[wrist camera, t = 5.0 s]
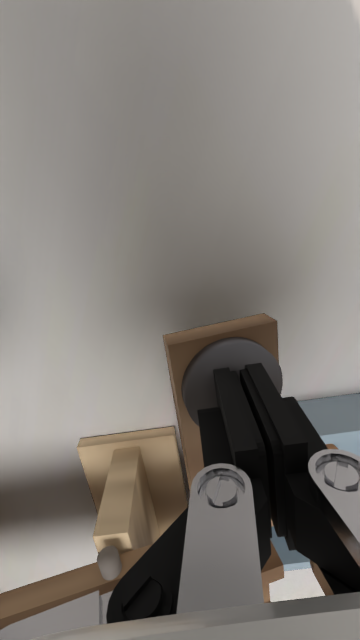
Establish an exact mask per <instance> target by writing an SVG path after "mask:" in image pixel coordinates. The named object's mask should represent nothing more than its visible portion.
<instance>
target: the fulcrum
mask: <svg viewBox="0 0 360 640" xmlns="http://www.w3.org/2000/svg"><path fill="white" fill-rule="evenodd" d="M77 450H78V453H79V456H80V460H81V463H82V466H83V469H84V472H85V475H86V479H87V482H88V485H89V488H90V491H91V494H92V498H93V501H94V504H95V507H96V510H97V514H98V517H97V521H96V525H95V530H94V534H93V539H94V542H95V545H96V548H97V551H98V554H99V553H100V551H101V550H102V549H103V548H105V547H107V546H115V547H116V548H117V550H118V553H119V555H120V554H123V553H126V552H129V551H132V550H135V549H138V548H141V547H144V546H147V545H150V544H153V543H155V542H156V540H157V539H158V538H159V537H160V536H161V535H162V534H163V533H164V532H165V531H166V530H167V529H168V528H169V527H170V525H171V524H172V523H173V522H174V521H175V520H176V519H177V518H178V517H179V516H180V515H181V514H182V513H183V512H184V510H185V509H186V508H187V507H188V501H187V496H186V490H185V485H184V479H183V473H182V468H181V462H180V457H179V451H178V446H177V440H176V434H175V429H174V426H173V427H165V428H158V429H150V430H143V431H135V432H128V433H120V434H112V435H105V436H97V437H90V438H82V439H80V441H79V444H78V446H77Z"/></svg>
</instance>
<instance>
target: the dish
mask: <svg viewBox="0 0 360 640" xmlns="http://www.w3.org/2000/svg"><path fill="white" fill-rule="evenodd" d="M297 402H298V404H299V405H300V407H301V408H302V410H303V411H304V413H305V414H306V416H307V417H308V419H309V420H310V422H311V423H312V425H313V426H314V428H315V429H316V431H317V433H318V434H319V436H320V437H321V439H322V440H323V442H324V443H325V444H333V445H335V446H336V447H337V448H338V449H339V450H344V451H348V452H351V453H353V454H355V455H357V456H359V457H360V393H356V394H348V395H341V396H334V397H326V398H319V399H311V400H304V401H297ZM270 540H271V542H272V544H273V546H274V547H275V549H276V551H277V553H278V555H279V557H280V559H281V561H282V563H283V565H284V571H290V570H298V569H306V568H311V565H310V559H308V558H306V557H305V556H303V555H302V554H300V553H299V552H297V551H296V550H292V551H289V549H288V546H287V543H286V540H285V537H277V535H276V532H275V529H274V526H272V538H270Z"/></svg>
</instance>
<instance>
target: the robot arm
mask: <svg viewBox="0 0 360 640" xmlns="http://www.w3.org/2000/svg"><path fill="white" fill-rule="evenodd" d="M213 373H214V381H215V389H216V397H217V405H218V407H213V408H206V409H199V410H197V412H198V420H199V429H200V437H201V445H202V454H203V462H204V468H203V469H202V470H201V471H199V472H198V473H197V475H196V476H195V477H194V479H193V481H192V485H191V490H190V499H189V506H188V507H187V508H186V509H185V510H184V512H183V513H182V514H181V515H180V516H179V517H178V518H177V519H176V520H175V521H174V522H173V523H172V524H171V525H170V527H169V528H168V529H167V530H166V531H165V532H164V533H163V534H162V535H161V536H160V537H159V538H158V539H157V540H156V542H155V543H154V544H153V545H152V546H151V547H150V548H149V549H148V550H147V551H146V552H145V553H144V554H143V556H142V557H141V558H140V559H139V560H138V561H137V562H136V563H135V564H134V565H133V566H132V567H131V568H130V569H129V571H128V572H127V573H126V574H125V575H124V576H123V577H122V578H121V580H120V581H119V582H118V584H117V585H116V586H115V588H114V590H113V591H111V592H108V593H106V594H103V595H100V592H99V590H98V591H95V592H93V593H90V594H88V595H85V596H83V597H80V598H77V599H75V600H72V601H70V602H67V603H64V604H62V605H59V606H57V607H54V608H52V609H49V610H46V611H44V612H41V613H39V614H36V615H33V616H31V617H28V618H26V619H23V620H21V621H18V622H15V623H13V624H10V625H8V626H7V627H5V628H3V629H1V630H0V640H360V457H359V456H357V455H355V454H353V453H351V452H348V451H344V450H339V449H328V448H327V446H326V445H325V443H324V442H323V440H322V439H321V437H320V436H319V434H318V433H317V431H316V429H315V428H314V426H313V425H312V423H311V422H310V420H309V419H308V417H307V416H306V414H305V413H304V411H303V410H302V408H301V407H300V405H299V404H298V402H297V401H296V399H295V398H294V397H286V398H282V397H281V395H280V394H279V392H278V390H277V389H276V387H275V385H274V384H273V382H272V380H271V378H270V377H269V375H268V373H267V372H266V370H265V368H264V367H263V365H262V363H255V364H248V365H245V369H242V370H240V380H239V378H238V375H237V373H236V371H230V369H229V367H227V368H220V369H213ZM271 520H272V523H273V526H274V529H275V532H276V535H277V537H285V540H286V543H287V546H288V549H289V551H292V550H296V551H297V552H299V553H300V554H302V555H303V556H305V557H306V558H308V559H310V565H311V568H312V570H313V573H314V575H315V577H316V579H317V581H318V582H319V584H320V586H321V588H322V590H323V592H324V594H325V595H326V596H320V597H312V598H304V599H295V600H287V601H278V602H270V603H264V596H263V587H262V577H261V571H262V569H263V567H264V566H265V564H266V562H267V561H268V559H269V557H270V556H271V541H270V538H272V525H271Z"/></svg>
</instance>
